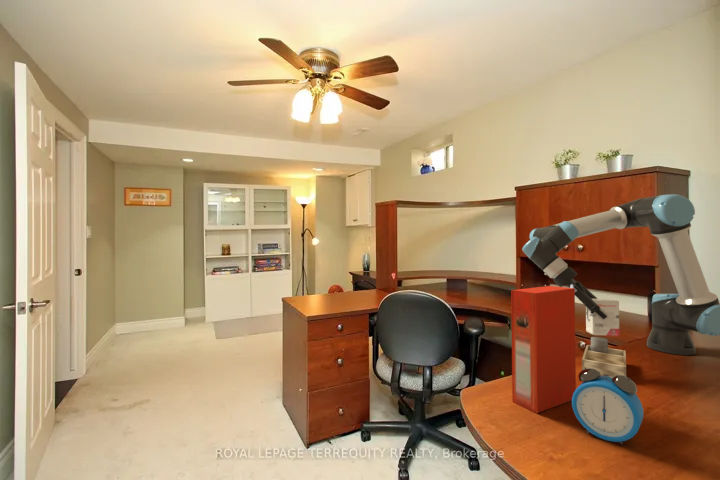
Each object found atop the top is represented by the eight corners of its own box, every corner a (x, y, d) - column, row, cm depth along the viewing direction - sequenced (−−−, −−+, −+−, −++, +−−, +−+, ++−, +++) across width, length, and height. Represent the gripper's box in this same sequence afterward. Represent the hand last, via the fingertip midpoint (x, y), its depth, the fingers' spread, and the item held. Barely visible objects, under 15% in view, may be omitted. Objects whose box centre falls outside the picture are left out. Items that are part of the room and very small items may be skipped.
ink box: (610, 331, 123) (611, 298, 122) (620, 336, 117) (620, 300, 117) (584, 331, 123) (584, 297, 123) (592, 335, 118) (592, 300, 118)
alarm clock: (571, 429, 85) (571, 368, 85) (578, 420, 89) (578, 361, 89) (639, 453, 76) (639, 384, 76) (644, 441, 80) (644, 376, 80)
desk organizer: (625, 364, 128) (625, 339, 128) (626, 382, 112) (626, 354, 112) (586, 357, 135) (586, 334, 135) (581, 374, 119) (581, 347, 119)
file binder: (511, 401, 100) (511, 289, 100) (549, 388, 108) (549, 285, 108) (537, 414, 93) (537, 293, 92) (575, 399, 101) (575, 288, 101)
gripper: (556, 276, 138) (606, 323, 128) (547, 282, 121) (603, 336, 112) (572, 264, 135) (624, 311, 125) (565, 267, 118) (624, 322, 108)
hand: (614, 323), depth 118 cm, fingers closed on ink box, 8 cm apart
